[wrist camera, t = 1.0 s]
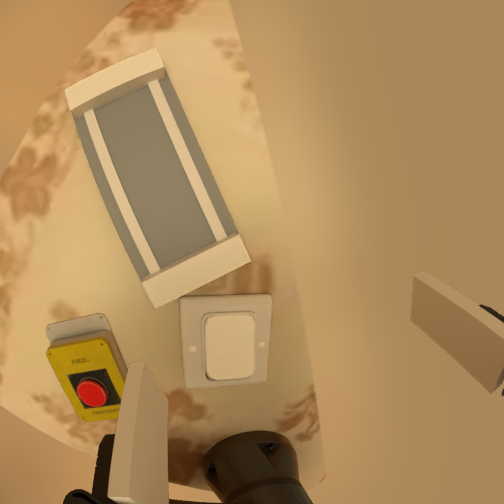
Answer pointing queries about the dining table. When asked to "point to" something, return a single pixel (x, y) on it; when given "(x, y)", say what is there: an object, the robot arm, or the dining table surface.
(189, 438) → the dining table surface
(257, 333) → the light switch
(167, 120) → the rail board
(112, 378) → the emergency button
